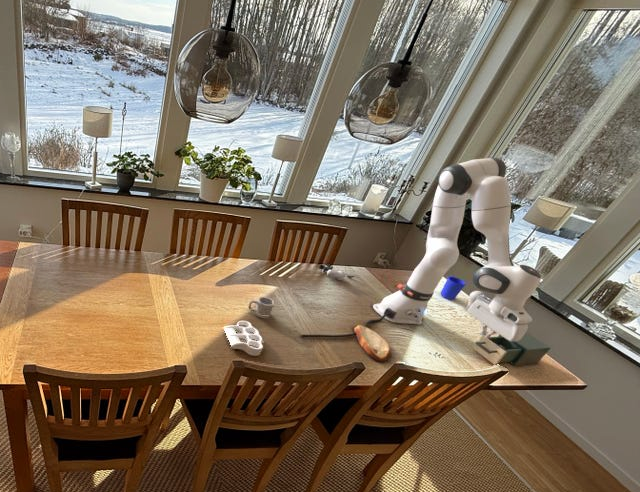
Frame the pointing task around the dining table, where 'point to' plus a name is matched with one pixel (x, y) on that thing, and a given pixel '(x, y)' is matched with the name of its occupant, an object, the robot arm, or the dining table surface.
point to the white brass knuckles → (244, 337)
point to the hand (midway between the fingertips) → (484, 336)
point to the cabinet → (530, 350)
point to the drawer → (498, 349)
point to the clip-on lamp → (333, 272)
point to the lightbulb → (473, 297)
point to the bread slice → (372, 343)
